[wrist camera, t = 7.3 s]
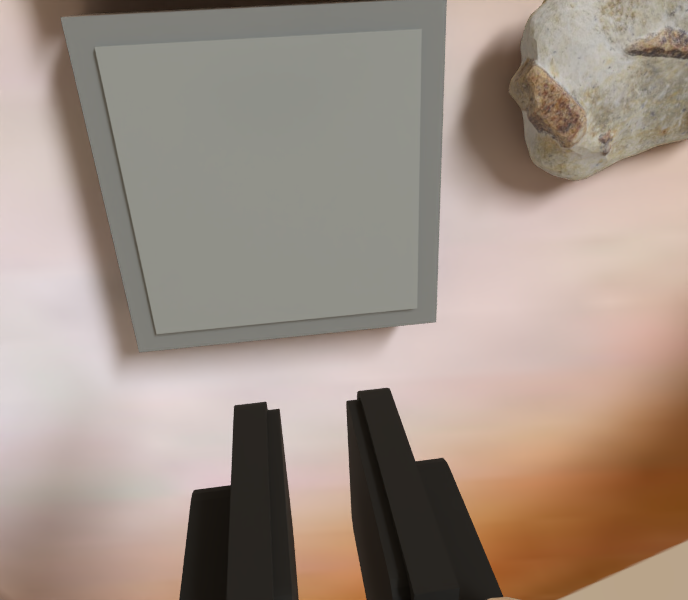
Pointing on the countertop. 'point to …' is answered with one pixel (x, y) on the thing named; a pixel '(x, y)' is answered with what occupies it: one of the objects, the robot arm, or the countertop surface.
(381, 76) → the slate stand
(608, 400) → the countertop surface
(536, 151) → the stone
